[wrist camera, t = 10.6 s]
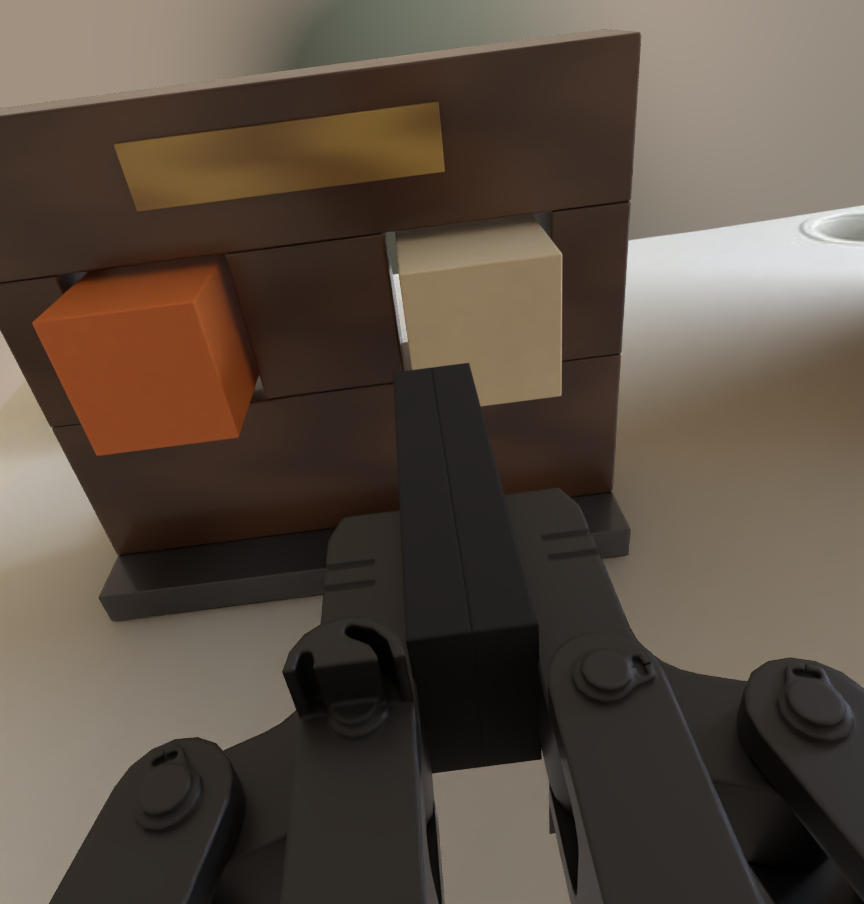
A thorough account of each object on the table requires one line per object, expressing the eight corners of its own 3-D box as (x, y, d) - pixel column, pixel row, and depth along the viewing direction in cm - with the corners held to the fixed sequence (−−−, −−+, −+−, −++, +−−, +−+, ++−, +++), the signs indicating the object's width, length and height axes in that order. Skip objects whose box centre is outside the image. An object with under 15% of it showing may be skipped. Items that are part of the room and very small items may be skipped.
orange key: (260, 372, 21) (225, 251, 19) (239, 438, 18) (194, 301, 16) (139, 387, 21) (90, 268, 19) (96, 457, 18) (30, 322, 16)
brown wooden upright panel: (577, 443, 28) (586, 27, 20) (628, 555, 22) (674, 33, 14) (165, 496, 28) (-5, 104, 20) (111, 622, 22) (-164, 144, 14)
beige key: (533, 337, 21) (530, 211, 19) (562, 396, 18) (562, 253, 16) (412, 352, 21) (395, 228, 19) (418, 415, 18) (398, 274, 16)
